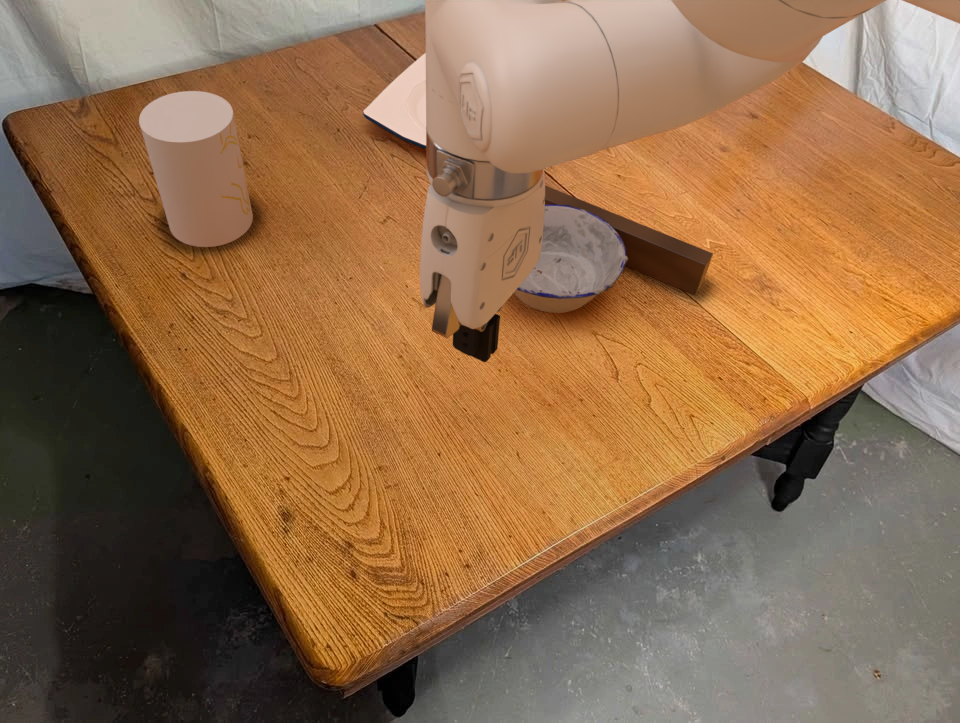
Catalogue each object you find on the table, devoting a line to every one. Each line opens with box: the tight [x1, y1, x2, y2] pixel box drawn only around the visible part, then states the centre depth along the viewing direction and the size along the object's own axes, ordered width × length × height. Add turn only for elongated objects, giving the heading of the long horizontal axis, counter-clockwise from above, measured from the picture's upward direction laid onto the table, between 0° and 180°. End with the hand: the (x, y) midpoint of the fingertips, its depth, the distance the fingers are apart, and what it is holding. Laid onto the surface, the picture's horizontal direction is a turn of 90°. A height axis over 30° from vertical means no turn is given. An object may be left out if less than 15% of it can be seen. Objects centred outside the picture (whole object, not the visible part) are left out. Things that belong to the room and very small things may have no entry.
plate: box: [362, 52, 426, 150], centre depth 99 cm, size 20×20×3 cm
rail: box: [545, 184, 714, 296], centre depth 84 cm, size 24×2×4 cm, turn 59°
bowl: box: [513, 204, 628, 314], centre depth 80 cm, size 13×13×5 cm
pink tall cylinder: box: [138, 90, 254, 248], centre depth 81 cm, size 8×8×12 cm
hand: (474, 349), depth 67 cm, fingers closed
